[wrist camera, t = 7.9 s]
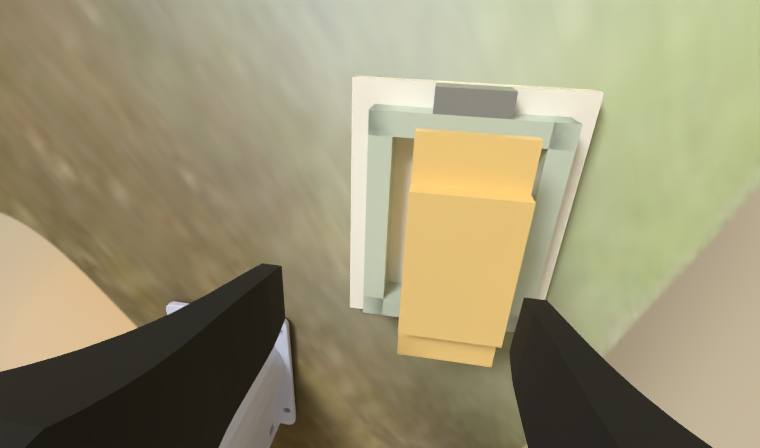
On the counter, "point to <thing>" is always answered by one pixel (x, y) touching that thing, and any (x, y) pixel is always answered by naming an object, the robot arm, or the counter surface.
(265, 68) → the counter surface
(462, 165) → the block
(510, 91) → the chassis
